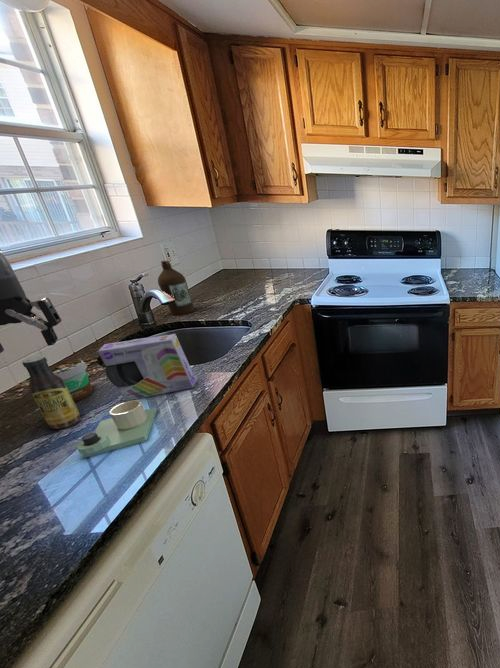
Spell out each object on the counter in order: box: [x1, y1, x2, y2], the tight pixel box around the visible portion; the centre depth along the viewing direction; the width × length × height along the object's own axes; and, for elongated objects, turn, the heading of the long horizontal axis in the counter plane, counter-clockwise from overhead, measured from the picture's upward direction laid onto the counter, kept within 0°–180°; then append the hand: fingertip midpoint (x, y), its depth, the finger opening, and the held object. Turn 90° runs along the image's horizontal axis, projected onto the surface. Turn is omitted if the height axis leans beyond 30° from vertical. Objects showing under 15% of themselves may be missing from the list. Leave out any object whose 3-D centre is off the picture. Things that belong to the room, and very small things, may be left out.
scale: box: [76, 407, 157, 458], centre depth 94 cm, size 13×15×3 cm
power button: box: [81, 431, 100, 446], centre depth 88 cm, size 3×3×2 cm
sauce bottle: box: [21, 355, 81, 430], centre depth 95 cm, size 7×6×20 cm
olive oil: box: [157, 259, 195, 316], centre depth 172 cm, size 11×11×25 cm
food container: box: [52, 358, 94, 403], centre depth 109 cm, size 12×6×10 cm, turn 159°
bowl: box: [108, 399, 147, 429], centre depth 96 cm, size 6×6×5 cm
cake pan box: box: [97, 333, 197, 402], centre depth 109 cm, size 19×5×18 cm, turn 109°
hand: (26, 348), depth 80 cm, fingers open, 8 cm apart
